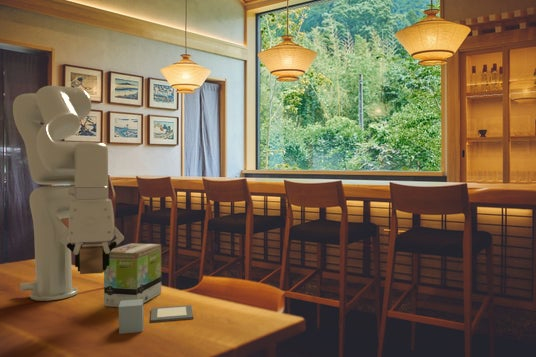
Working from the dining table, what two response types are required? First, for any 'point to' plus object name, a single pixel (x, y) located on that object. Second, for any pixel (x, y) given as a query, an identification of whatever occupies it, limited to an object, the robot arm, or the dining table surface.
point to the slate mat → (171, 313)
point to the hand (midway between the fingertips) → (92, 268)
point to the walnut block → (91, 259)
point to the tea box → (133, 273)
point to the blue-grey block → (131, 316)
